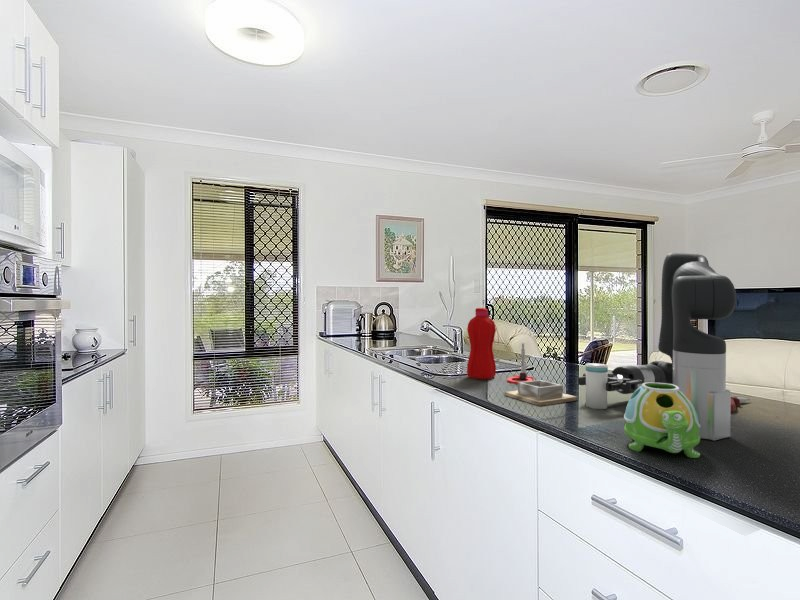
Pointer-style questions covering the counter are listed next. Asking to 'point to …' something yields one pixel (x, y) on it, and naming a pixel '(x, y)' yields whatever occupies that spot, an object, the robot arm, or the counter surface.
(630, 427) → the turtle holder
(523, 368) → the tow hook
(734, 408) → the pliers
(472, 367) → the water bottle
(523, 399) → the wooden square holder
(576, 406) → the counter surface
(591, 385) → the cylindrical container
